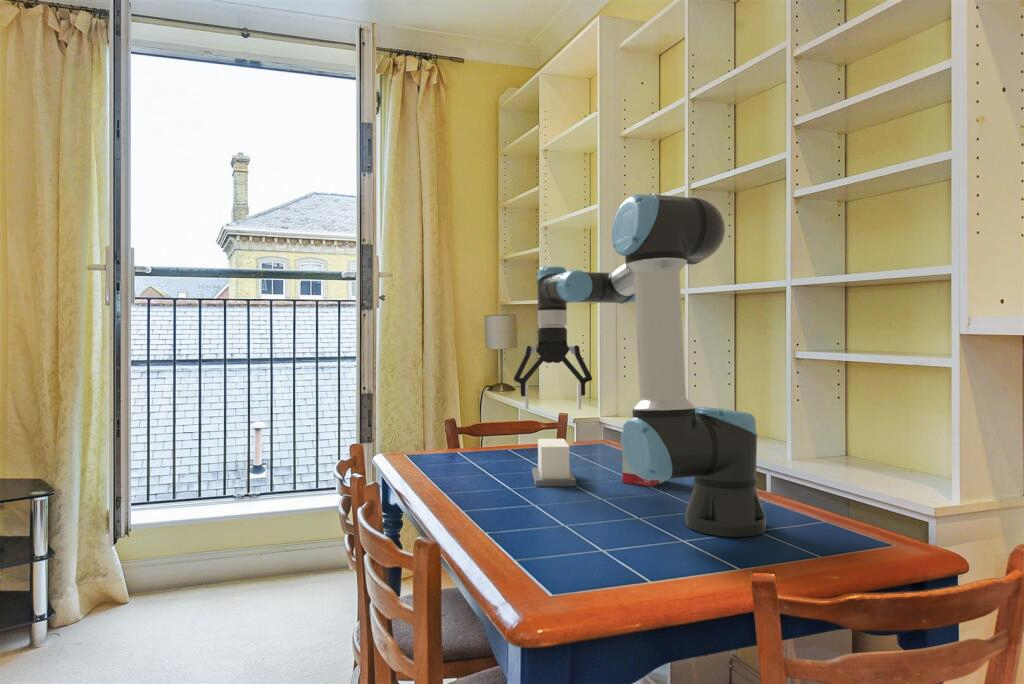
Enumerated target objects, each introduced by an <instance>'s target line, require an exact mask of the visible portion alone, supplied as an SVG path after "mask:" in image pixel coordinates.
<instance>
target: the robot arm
mask: <svg viewBox="0 0 1024 684" xmlns="http://www.w3.org/2000/svg"><path fill="white" fill-rule="evenodd" d="M611 228H612V229H611V243H612V246H613V248H614V251H615V253H617V254H618V255H620V256H622V257H624V260H625V261H624V262H625V263H623V264H621V265H620V266H619V267H617V268H616V269H614V270H613V271H610V272H599V271H598V272H592V271H590V272H588V271H584V270H579V269H578V270H577V269H576V270H573V269H571V270H567V269H566V268H565V267H563V266H543V267H540V268H539V269H538V271H537V279H536V285H537V325H538V326H539V328H538V329H537V346H530V345H526V347H525V354H524V356H523V358H522V361H521V362H520V365H519V366H518V369H517V370H516V373H515V374H514V377H513V381H514V382H515V383H519V384H520V396H521V397H524V409H525V410H529V384H528V383H526V382H527V381H528V380H529V379H530V378H531V376H533V374H535V372H536V371H537V370H538V369H539V367H540V366H541V365H542V364H543V362H544V363H546V364H551V363H555V364H559V363H561V362H562V363H563V364H564V365H565V367H567V368H568V370H569V371H570V372H571V373H572V374H573V375H574V377H575V378H576V379H577V380H578V381H579V382H577V383H576V409H578V410H582V397H584V396H585V395H586V383H588V382H591V381H592V380H593V377H592V375H591V373H590V371H589V369H588V367H587V365H586V363H585V361H584V359H583V357H582V355H581V350H580V346H579V345H573V346H569V345H568V329H567V327H566V326H567V325H568V324H567V323H568V316H567V315H568V312H567V311H568V310H567V305H568V304H567V303H597V304H599V303H600V304H601V303H603V304H604V303H606V304H608V303H609V304H620V305H621V304H626V303H627V304H628V303H635V323H636V324H635V326H636V327H635V328H636V344H637V347H636V349H637V362H638V363H637V366H638V385H639V386H638V387H639V400H638V402H636V404H635V405H634V406H633V407H632V409H631V410H632V411H631V412H632V418H629V419H628V420H627V421H625V423H624V424H623V427H622V428H623V429H622V430H621V435H620V441H621V444H620V445H621V448H622V454H623V453H624V456H625V459H626V461H627V463H628V465H629V466H630V468H631V469H632V471H633V472H634V473H635V474H636V475H637V476H639V477H640V478H642V479H645V480H662V481H664V482H666V481H668V480H672V479H683V478H684V479H685V478H693V479H694V483H693V488H692V492H691V494H690V497H689V500H688V503H687V507H686V509H685V512H684V515H685V519H684V521H685V525H686V527H688V528H689V529H691V530H693V531H695V532H698V533H702V534H705V535H711V536H712V535H713V536H718V537H726V538H741V537H742V538H745V537H754V536H758V535H762V534H764V533H765V532H766V530H767V518H766V514H765V511H764V508H763V505H762V503H761V499H760V496H759V494H758V493H759V492H758V489H757V447H758V445H757V444H758V443H757V441H758V433H757V423H756V422H757V420H756V418H755V417H754V415H753V414H751V413H750V412H745V411H740V410H734V409H733V410H732V409H724V408H717V407H710V406H709V407H708V406H695V405H694V404H693V403H692V402H691V401H690V400H689V399H688V398H687V392H686V391H687V390H686V388H687V387H686V371H685V352H684V332H683V316H682V314H683V312H682V311H683V310H682V295H681V291H682V290H681V278H680V273H681V271H682V270H683V268H684V267H686V265H691V266H693V265H698V264H699V263H701V262H703V261H704V260H707V259H708V258H710V257H711V256H712V255H714V254H715V253H716V252H717V251H718V250H719V248H720V247H721V245H722V244H723V241H724V239H725V234H726V233H725V232H726V227H725V221H724V218H723V215H722V213H721V212H720V210H719V209H718V208H717V207H716V206H715V205H714V204H712V203H711V202H710V201H707V200H705V199H703V198H699V197H685V196H674V195H663V194H655V193H648V194H640V193H637V194H633V195H630V196H629V197H627V198H626V199H625V200H623V202H622V203H621V205H620V206H619V208H618V210H617V212H616V214H615V217H614V220H613V223H612V227H611ZM569 351H570V353H571V354H572V355H574V357H575V358H576V361H577V362H578V364H579V367H580V369H581V371H582V372H583V374H584V377H583V375H582V374H581V373H580V372H579V371H578V370H577V369H576V367H575V366H574V365H573V364H572V363H571V362H570V360H569V359H568V358H567V357H566V356H567V354H568V353H569ZM535 352H536V353H537V354H538V355H539V357H538V358H537V359H536V361H535V362H534V364H532V366H531V367H530V368H529V370H527V371H526V372H525V374H524V375H523V377H521V375H522V374H523V371H524V370H525V368H526V365H527V364H528V362H529V361H528V360H529V359H530V357H531V355H533V354H534V353H535Z"/></svg>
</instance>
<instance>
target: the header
mask: <svg viewBox="0 0 1024 684" xmlns="http://www.w3.org/2000/svg"><path fill="white" fill-rule="evenodd" d="M531 470H532V471H531V474H532V477H533V481H534V485H535V487H536V488H537V487H577V479H576V478H575V476H574V474H573V472H572V470H571V468H570V467H569V479H541V476H540V473H539V470H538V466H537V467H536V466H535V467H531Z"/></svg>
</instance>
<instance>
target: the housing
mask: <svg viewBox="0 0 1024 684" xmlns="http://www.w3.org/2000/svg"><path fill="white" fill-rule="evenodd" d="M537 454H538V455H537V467H538V470H539V473H540V476H541V479H569V468H570V446H569V444H568V443H567V440H566V439H565V438H538V439H537Z"/></svg>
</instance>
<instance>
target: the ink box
mask: <svg viewBox="0 0 1024 684" xmlns="http://www.w3.org/2000/svg"><path fill="white" fill-rule="evenodd" d="M621 478H622V481H621V482H622V483H624V484H631V485H639V486H643V487H644V486H645V487H654V486H657V485H659V484H662V483H665V481H662V480H645V479H642V478H640V477H639V476H637V475H636V474H635V473H634V472H633V471H632V469H631V468H630V466H629V465H628V463H627V461H626V459H625V456H624V453H623V452H622V477H621Z"/></svg>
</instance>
